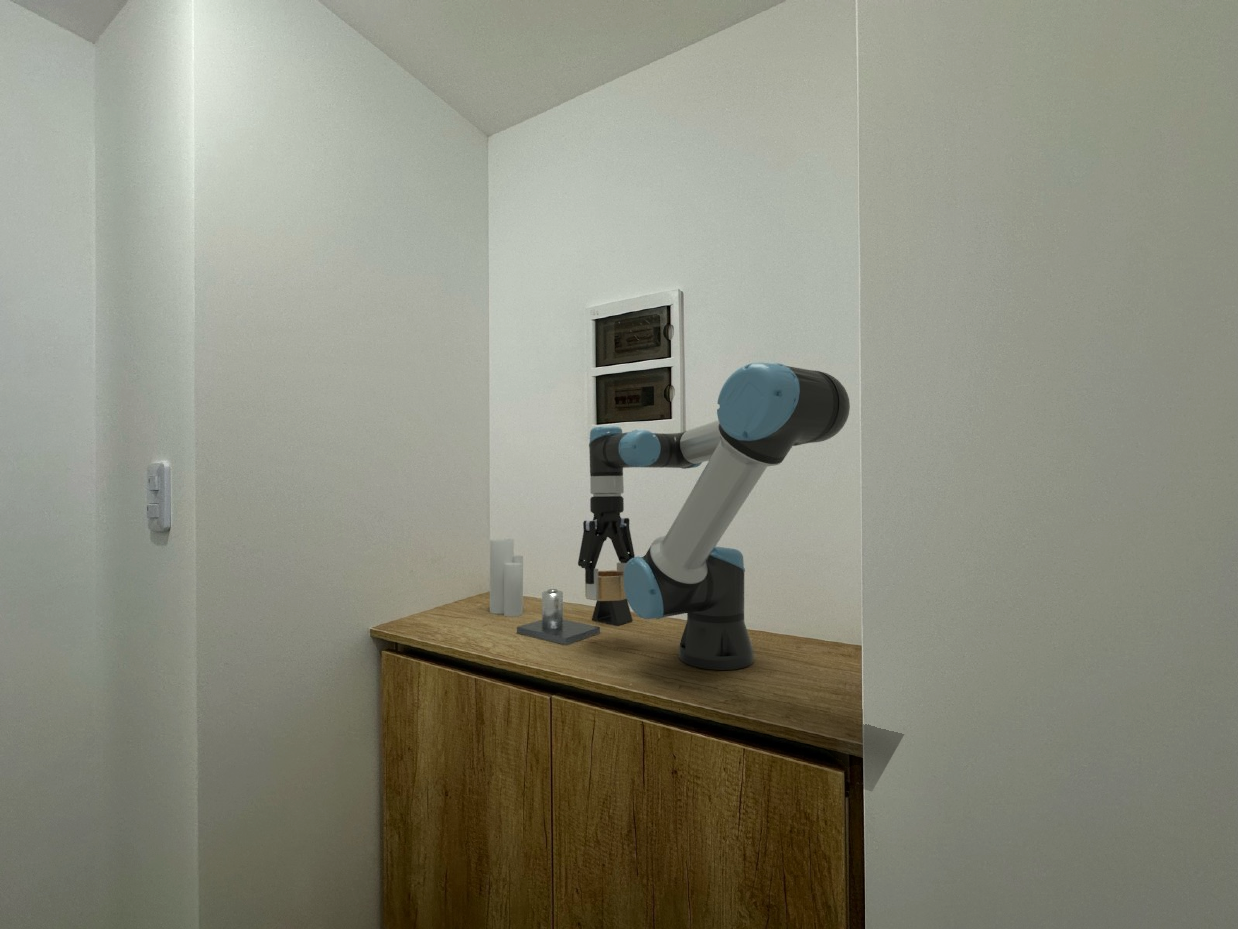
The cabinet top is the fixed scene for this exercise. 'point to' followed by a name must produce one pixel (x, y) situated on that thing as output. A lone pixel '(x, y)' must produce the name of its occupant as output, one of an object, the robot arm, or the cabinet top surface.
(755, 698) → the cabinet top surface
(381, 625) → the cabinet top surface
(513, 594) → the candle
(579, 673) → the cabinet top surface
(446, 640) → the cabinet top surface
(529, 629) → the peg on base plate
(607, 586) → the ring
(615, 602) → the black triangular stand
